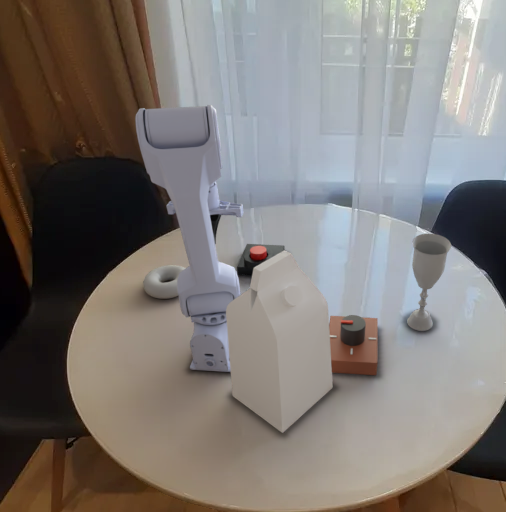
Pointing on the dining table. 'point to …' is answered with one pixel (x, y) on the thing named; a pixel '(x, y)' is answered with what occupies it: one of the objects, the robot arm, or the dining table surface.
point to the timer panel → (354, 349)
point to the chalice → (427, 273)
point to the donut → (160, 275)
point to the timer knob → (352, 330)
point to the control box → (248, 264)
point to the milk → (279, 342)
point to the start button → (258, 253)
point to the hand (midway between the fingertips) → (211, 245)
